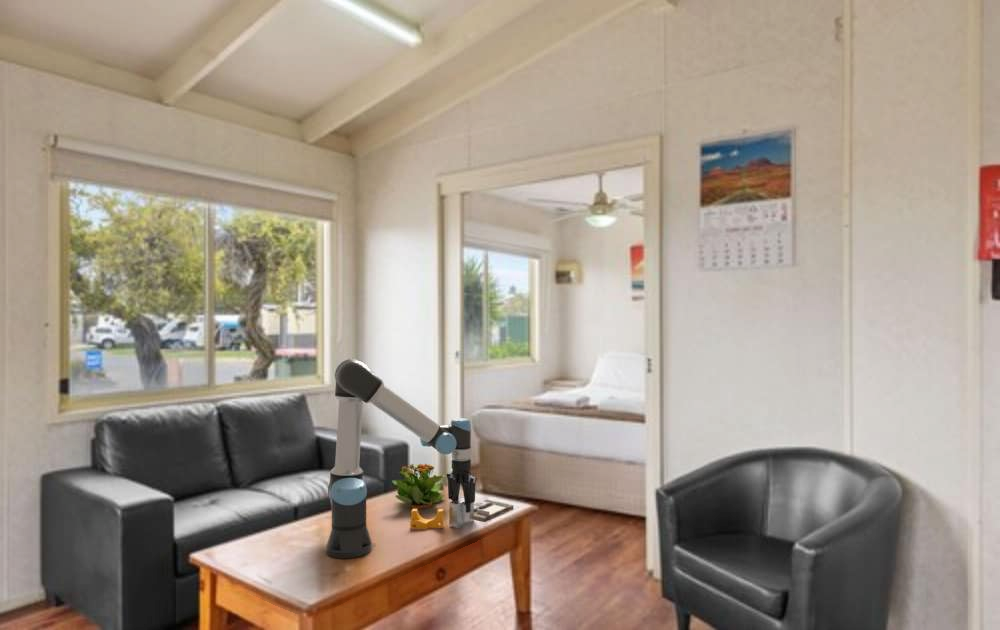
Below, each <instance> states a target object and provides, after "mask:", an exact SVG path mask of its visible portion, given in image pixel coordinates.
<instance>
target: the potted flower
mask: <svg viewBox="0 0 1000 630" xmlns="http://www.w3.org/2000/svg"><path fill="white" fill-rule="evenodd" d="M434 469H435V466H433V465H430V464H427V463H424V464H421V463H419V464H418V465H417V466H415V465H414V464H413V463H411V464H409V466H408V467H407V466H406V465H405V466H402V467H401V471H399V472H398V473H399V474H401V475H403V476H404V479H396V480H395V479H394V480H391V482H392V483H393V485H394V486H397V494H396V495H395V498H396V499H398V500H399V501H401V502H402V503H406V504H408V505H409V507H410V508H412V509H420V510H421V509H422V510H423V509H426V508H430V507H431V506H433V504H438V503H439V502H441V501H442V499H443V498H444V494H443V493H441V492H439V491H444V483H443V482H440V481H441V480H442V478H443V479H444V478H447V474H442V475H436V474H435V475H433V476H431V477H430V474H432V473H433V470H434ZM439 482H440V483H439Z"/></svg>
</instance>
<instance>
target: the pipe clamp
mask: <svg viewBox="0 0 1000 630" xmlns="http://www.w3.org/2000/svg"><path fill="white" fill-rule="evenodd" d="M444 511H445V510H444V509H443V508H439V509H437V512H436V513H437V514H436V515H435V516H434V517H433V518H431V519H427V518H425V517H422V516H421V515H420V513H419V510H418V509H415V508H412V510H411V511H410V514H411V517H410V518H411V519H410V521H409V523H410V524H409V525H410V530H428V529H443V528H444V526H445V525H444V524H445V522H444V520H445V519H444V518H445V517H444V514H445V513H444Z"/></svg>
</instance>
